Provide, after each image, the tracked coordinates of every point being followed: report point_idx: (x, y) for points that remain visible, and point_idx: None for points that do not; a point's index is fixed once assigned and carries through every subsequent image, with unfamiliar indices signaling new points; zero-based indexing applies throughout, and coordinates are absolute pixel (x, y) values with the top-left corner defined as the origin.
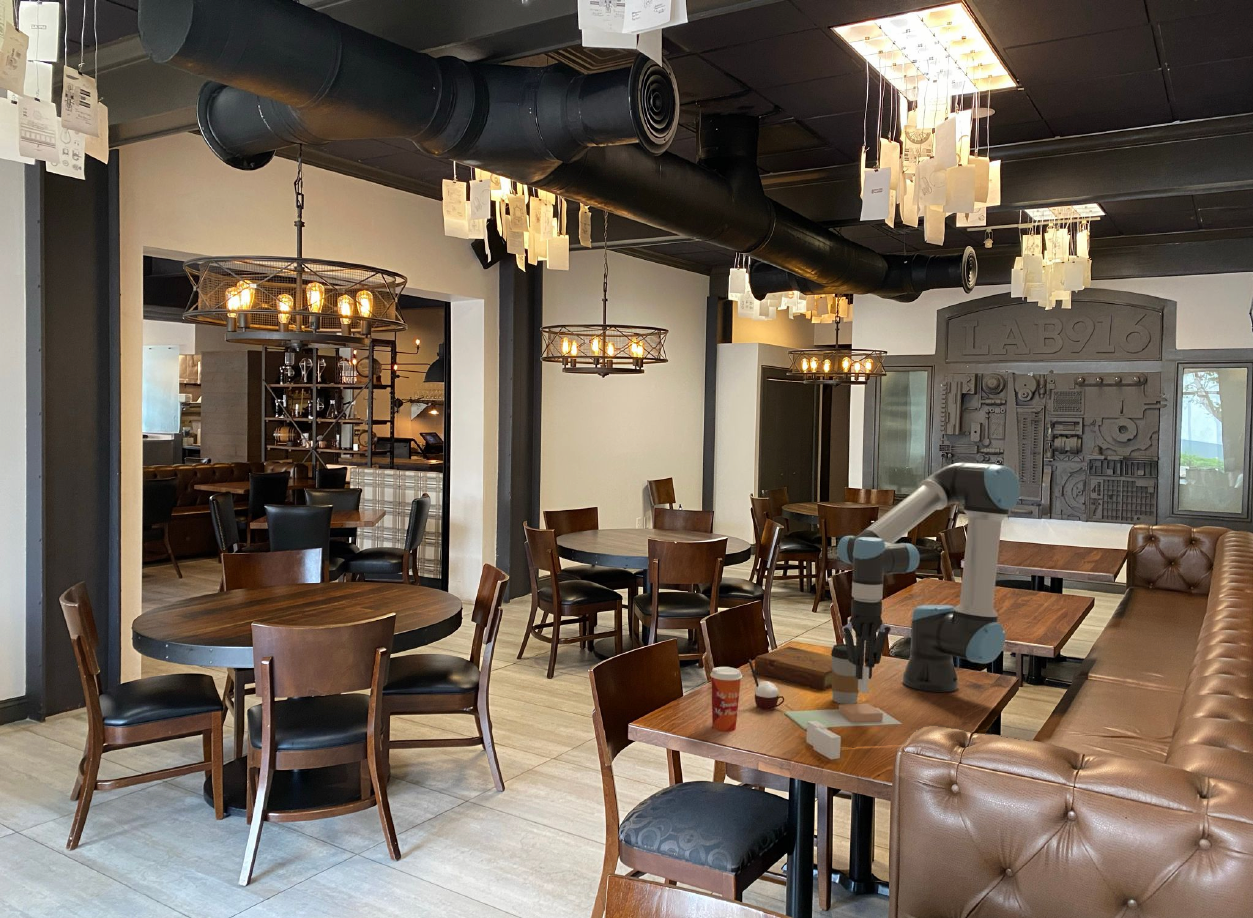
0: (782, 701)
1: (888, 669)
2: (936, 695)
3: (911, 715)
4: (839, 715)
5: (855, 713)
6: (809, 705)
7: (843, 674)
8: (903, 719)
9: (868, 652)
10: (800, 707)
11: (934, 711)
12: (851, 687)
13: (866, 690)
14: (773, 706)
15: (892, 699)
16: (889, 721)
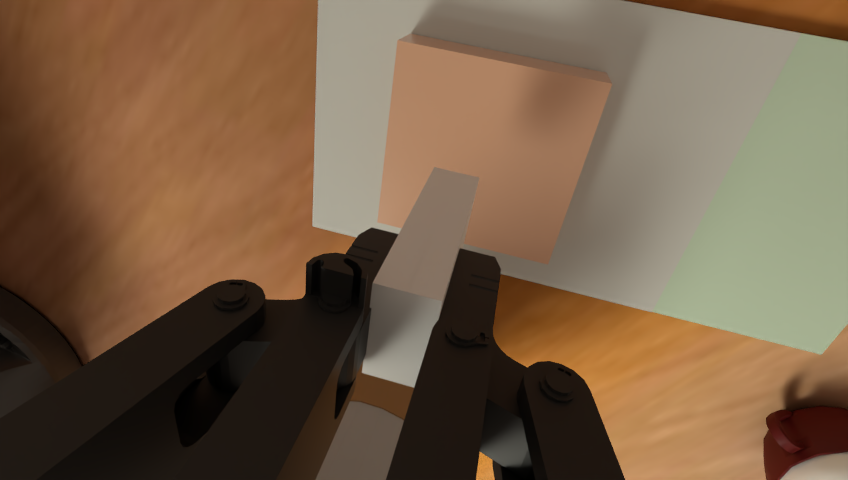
0: (779, 420)
1: None
2: (6, 263)
3: (192, 94)
4: (584, 202)
5: (584, 93)
6: (583, 373)
7: None
8: (260, 51)
9: (296, 459)
10: (647, 372)
11: (64, 106)
12: None
13: (445, 178)
14: (833, 411)
15: (187, 293)
16: (373, 11)
